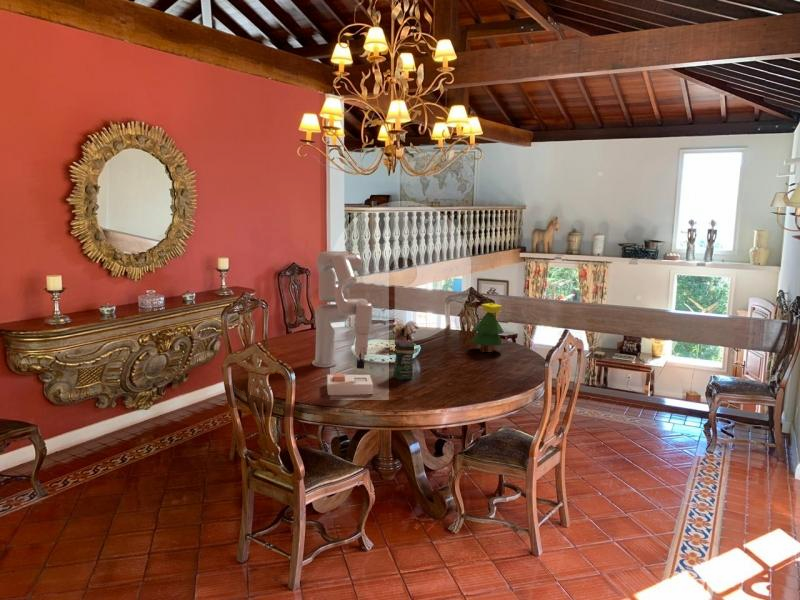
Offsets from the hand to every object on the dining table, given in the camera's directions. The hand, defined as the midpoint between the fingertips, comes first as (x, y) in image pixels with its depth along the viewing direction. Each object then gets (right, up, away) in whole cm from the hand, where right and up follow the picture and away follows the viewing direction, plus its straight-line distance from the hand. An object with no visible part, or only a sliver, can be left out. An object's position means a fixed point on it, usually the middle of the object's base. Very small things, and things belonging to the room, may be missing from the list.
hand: (360, 367), depth 273 cm
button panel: (-5, -10, 0) cm, 11 cm away
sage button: (0, -9, +1) cm, 9 cm away
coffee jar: (+20, -8, +22) cm, 31 cm away
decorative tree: (+70, 0, +82) cm, 107 cm away
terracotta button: (-10, -6, -1) cm, 12 cm away
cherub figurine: (+21, +2, +77) cm, 80 cm away
